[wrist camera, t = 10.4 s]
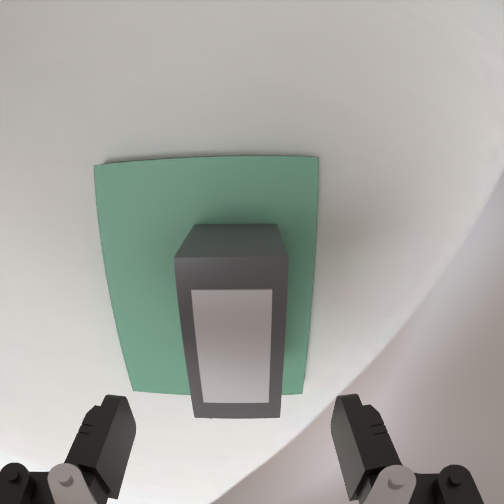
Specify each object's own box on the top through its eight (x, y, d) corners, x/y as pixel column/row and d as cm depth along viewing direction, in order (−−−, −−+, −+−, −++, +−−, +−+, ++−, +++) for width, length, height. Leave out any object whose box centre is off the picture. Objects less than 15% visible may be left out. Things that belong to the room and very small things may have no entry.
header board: (103, 164, 20) (62, 171, 15) (313, 156, 20) (336, 160, 15) (137, 379, 25) (120, 424, 20) (299, 382, 26) (309, 429, 20)
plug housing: (193, 224, 20) (172, 258, 14) (276, 223, 20) (289, 257, 14) (204, 358, 23) (194, 418, 17) (272, 358, 23) (280, 419, 17)
